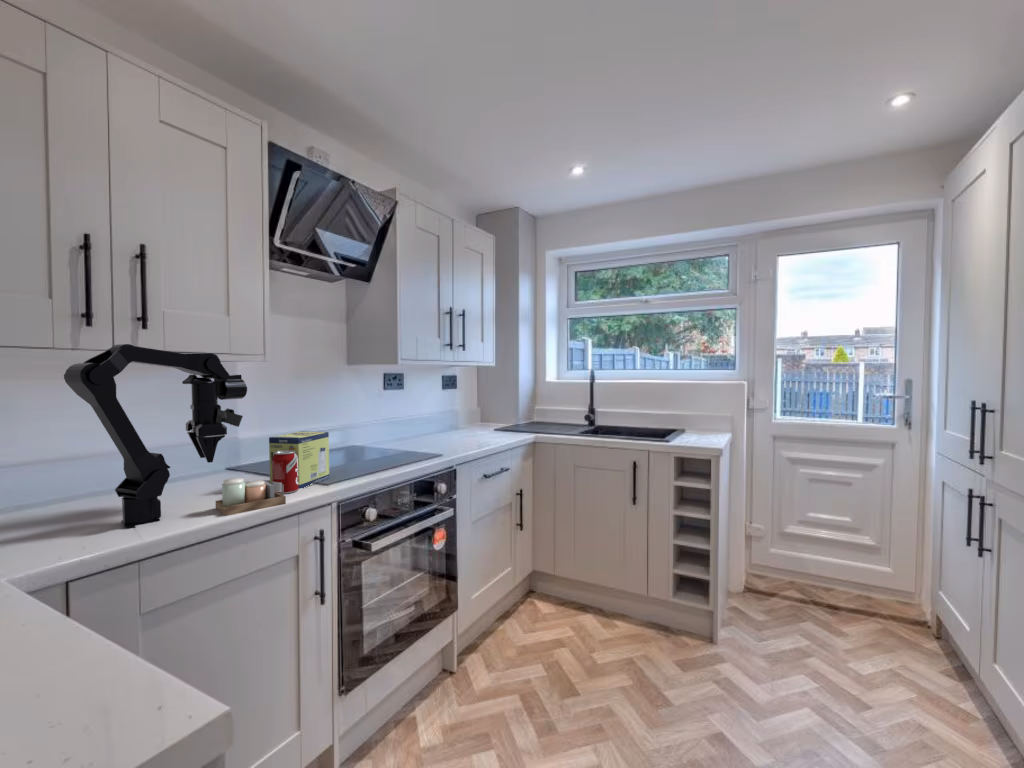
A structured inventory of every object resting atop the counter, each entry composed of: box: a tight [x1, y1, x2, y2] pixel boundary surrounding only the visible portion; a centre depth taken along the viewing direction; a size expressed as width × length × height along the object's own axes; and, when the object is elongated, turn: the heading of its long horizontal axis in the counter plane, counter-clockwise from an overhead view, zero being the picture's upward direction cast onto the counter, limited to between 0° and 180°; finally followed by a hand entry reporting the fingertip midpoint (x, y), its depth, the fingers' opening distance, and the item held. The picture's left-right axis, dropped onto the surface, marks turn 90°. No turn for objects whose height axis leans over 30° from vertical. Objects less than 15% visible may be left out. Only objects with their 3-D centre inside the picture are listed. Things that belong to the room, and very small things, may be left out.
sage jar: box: [221, 477, 246, 506], centre depth 121 cm, size 5×5×6 cm
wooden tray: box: [215, 491, 287, 517], centre depth 124 cm, size 14×9×2 cm, turn 136°
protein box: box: [268, 430, 330, 490], centre depth 151 cm, size 10×16×16 cm
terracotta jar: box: [245, 479, 266, 503], centre depth 125 cm, size 5×5×6 cm
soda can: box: [272, 450, 299, 495], centre depth 139 cm, size 7×7×12 cm
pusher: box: [264, 480, 275, 499], centre depth 127 cm, size 1×7×5 cm, turn 46°
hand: (206, 459), depth 127 cm, fingers open, 9 cm apart
